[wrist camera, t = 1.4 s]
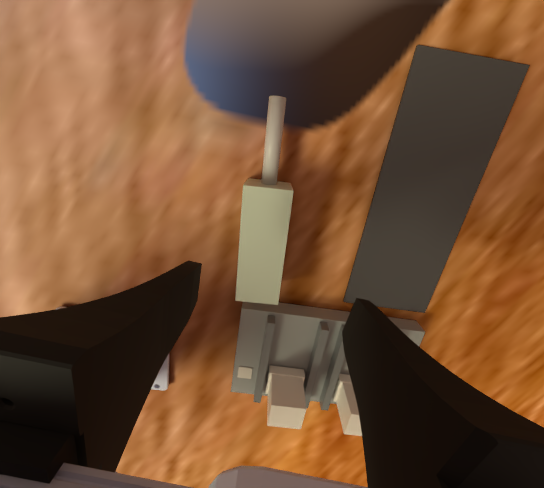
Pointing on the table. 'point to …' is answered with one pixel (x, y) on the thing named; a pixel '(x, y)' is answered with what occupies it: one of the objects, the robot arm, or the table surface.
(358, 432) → the tab
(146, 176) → the table surface
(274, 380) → the tab
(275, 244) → the driver
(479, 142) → the tool mat
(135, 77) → the table surface
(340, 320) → the switch panel
